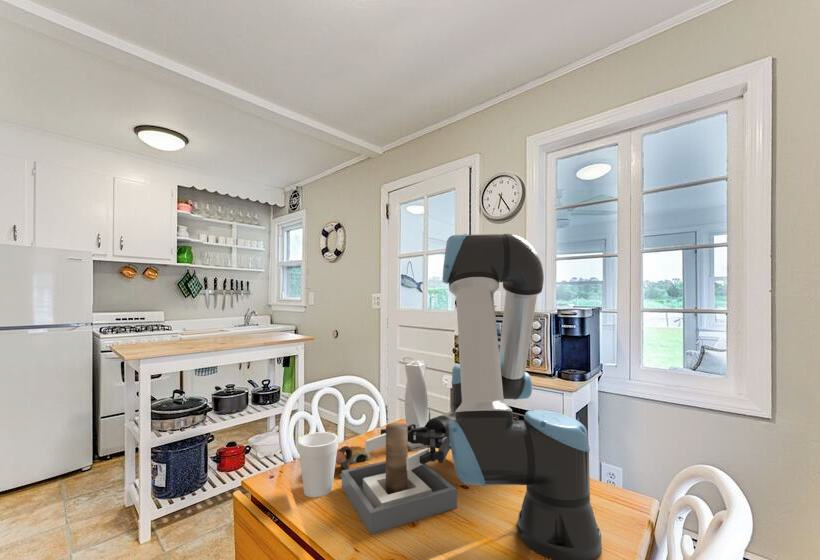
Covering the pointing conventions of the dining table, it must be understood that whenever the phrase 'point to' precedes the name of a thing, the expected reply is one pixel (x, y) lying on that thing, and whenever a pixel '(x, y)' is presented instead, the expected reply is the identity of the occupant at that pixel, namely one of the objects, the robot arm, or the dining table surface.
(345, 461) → the pottery mug
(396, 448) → the walnut peg
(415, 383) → the skyscraper
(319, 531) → the dining table surface
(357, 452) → the pastry
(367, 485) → the bore plate
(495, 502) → the dining table surface
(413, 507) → the open box
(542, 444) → the robot arm
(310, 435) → the foam cup
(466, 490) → the dining table surface
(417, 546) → the dining table surface
